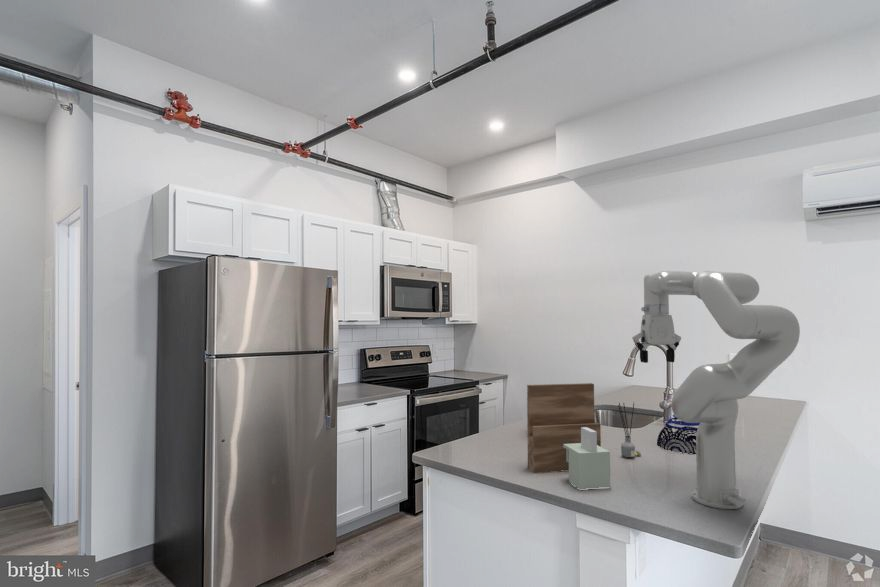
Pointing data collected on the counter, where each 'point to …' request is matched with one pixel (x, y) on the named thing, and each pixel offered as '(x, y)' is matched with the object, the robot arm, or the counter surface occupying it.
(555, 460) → the wooden board stand
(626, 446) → the reed diffuser
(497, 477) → the counter surface
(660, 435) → the decorative bowl
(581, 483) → the pale green pegged cube
